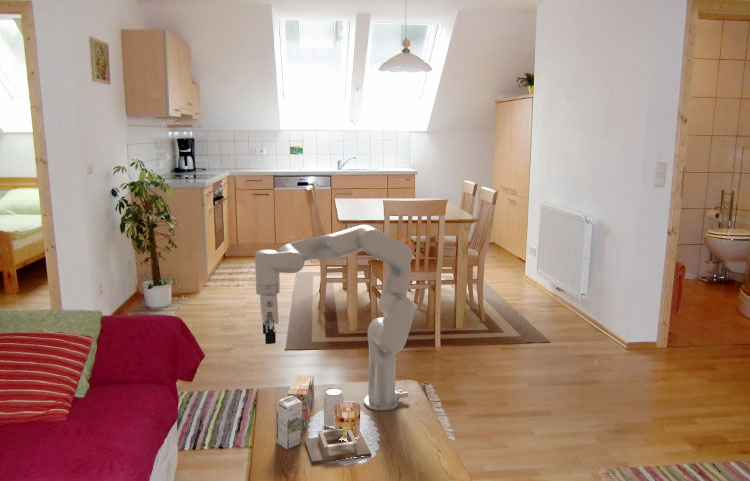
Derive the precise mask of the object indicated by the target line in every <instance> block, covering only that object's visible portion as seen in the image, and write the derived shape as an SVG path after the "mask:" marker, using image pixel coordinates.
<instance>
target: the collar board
mask: <svg viewBox="0 0 750 481" xmlns="http://www.w3.org/2000/svg"><path fill="white" fill-rule="evenodd" d="M340 428H341V427H340ZM340 428H337V429H329V428H328V429H323V430H318V431H317V432H318V433H317V435H318V436H317V437H310V438H304V443H305V446H306V450H307V453H308V456H309V457H308V458H310V459H309V460H310V461H311V463H310V464H311V465H317V464H324V463H331V461H333V462H337V461H336V460H340V461H343V460H342V459H346V458H351V457H352V458H353V457H361V456H368V457H372V451H371V450H370V448H369V446H368V444H367V442H366V440H365V438H364V436H363V434H362V432H361V431H359V432H360V434H359V438H358V439H355V437H354V435H353V433H354V432H353V431H352V430H347V440H348V442H346V441H344V440H342V441H341V440H339V439H340V438H341V437H342V436H343V432H344V430H343V429H340ZM361 458H362V457H361Z"/></svg>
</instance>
